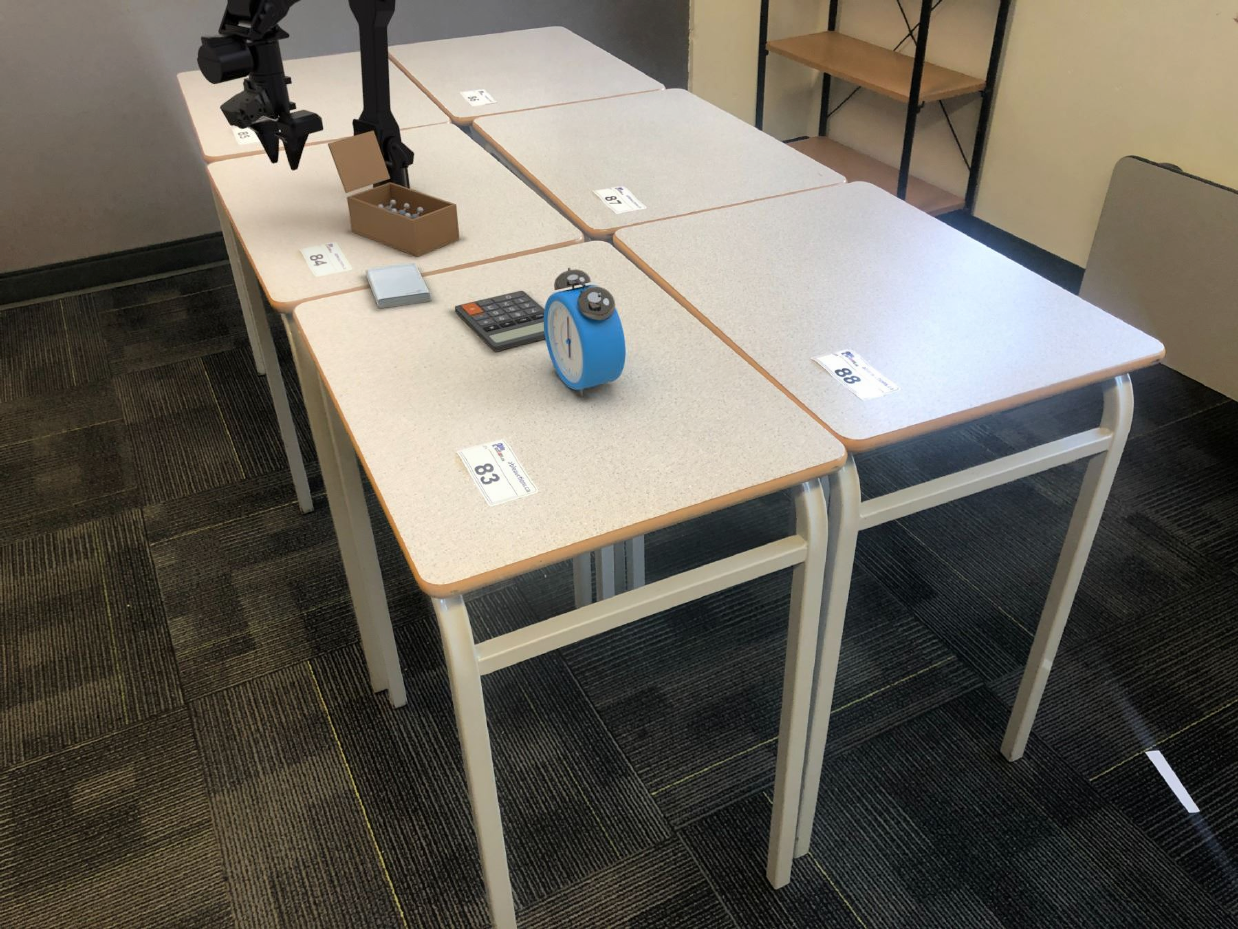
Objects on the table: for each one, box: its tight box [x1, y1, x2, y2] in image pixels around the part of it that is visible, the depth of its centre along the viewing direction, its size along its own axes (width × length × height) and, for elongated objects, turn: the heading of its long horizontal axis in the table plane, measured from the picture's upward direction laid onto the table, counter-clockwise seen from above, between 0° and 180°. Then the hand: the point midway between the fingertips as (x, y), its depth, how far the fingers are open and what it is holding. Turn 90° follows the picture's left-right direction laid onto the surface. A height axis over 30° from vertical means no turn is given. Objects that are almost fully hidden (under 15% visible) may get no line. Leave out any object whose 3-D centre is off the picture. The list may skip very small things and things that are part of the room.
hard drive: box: [365, 262, 432, 309], centre depth 152 cm, size 2×8×12 cm
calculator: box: [454, 290, 546, 352], centre depth 143 cm, size 12×1×15 cm
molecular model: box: [378, 200, 423, 219], centre depth 169 cm, size 14×4×5 cm, turn 49°
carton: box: [346, 182, 461, 258], centre depth 169 cm, size 18×10×6 cm, turn 51°
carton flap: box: [327, 131, 390, 194], centre depth 169 cm, size 9×10×1 cm
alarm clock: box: [544, 267, 627, 397], centre depth 125 cm, size 13×6×15 cm, turn 29°
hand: (284, 166), depth 164 cm, fingers open, 5 cm apart
